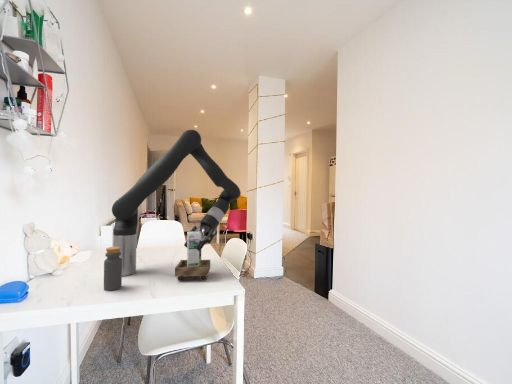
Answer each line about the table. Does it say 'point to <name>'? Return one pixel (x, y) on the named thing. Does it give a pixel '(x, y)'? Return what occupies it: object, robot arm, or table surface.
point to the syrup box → (193, 249)
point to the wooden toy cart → (192, 270)
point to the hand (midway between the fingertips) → (191, 248)
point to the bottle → (112, 269)
